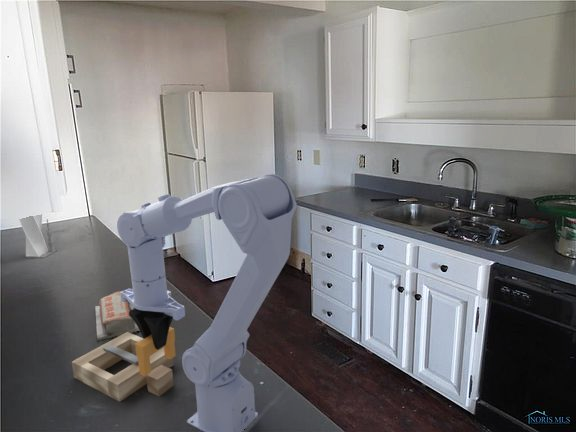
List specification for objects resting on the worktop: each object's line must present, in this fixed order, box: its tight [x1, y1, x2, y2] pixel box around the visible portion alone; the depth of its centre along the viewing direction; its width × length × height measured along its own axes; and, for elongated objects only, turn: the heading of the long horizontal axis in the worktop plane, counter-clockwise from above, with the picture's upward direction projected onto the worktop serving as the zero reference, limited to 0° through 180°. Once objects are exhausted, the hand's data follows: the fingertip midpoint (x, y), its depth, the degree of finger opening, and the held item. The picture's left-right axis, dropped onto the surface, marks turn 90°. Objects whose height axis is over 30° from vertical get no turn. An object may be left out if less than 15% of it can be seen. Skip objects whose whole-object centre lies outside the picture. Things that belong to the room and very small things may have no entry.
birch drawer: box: [71, 332, 175, 403], centre depth 86 cm, size 14×13×5 cm
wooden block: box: [135, 326, 177, 376], centre depth 79 cm, size 2×7×6 cm, turn 149°
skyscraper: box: [18, 213, 57, 259], centre depth 153 cm, size 8×8×28 cm
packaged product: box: [95, 291, 140, 341], centre depth 108 cm, size 18×5×10 cm
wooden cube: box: [146, 365, 174, 397], centre depth 81 cm, size 3×4×4 cm
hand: (156, 344), depth 79 cm, fingers closed on wooden block, 2 cm apart
